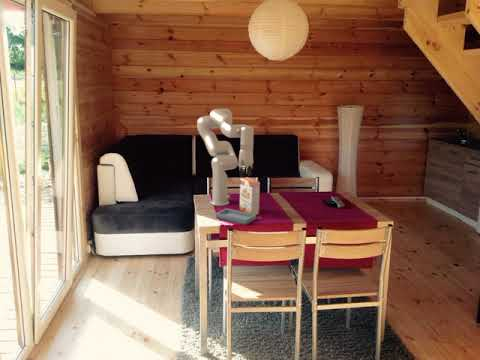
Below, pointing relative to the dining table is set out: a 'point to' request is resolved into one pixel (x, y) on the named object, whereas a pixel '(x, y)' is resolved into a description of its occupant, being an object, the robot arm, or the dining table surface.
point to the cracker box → (249, 195)
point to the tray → (236, 216)
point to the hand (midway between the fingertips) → (245, 176)
